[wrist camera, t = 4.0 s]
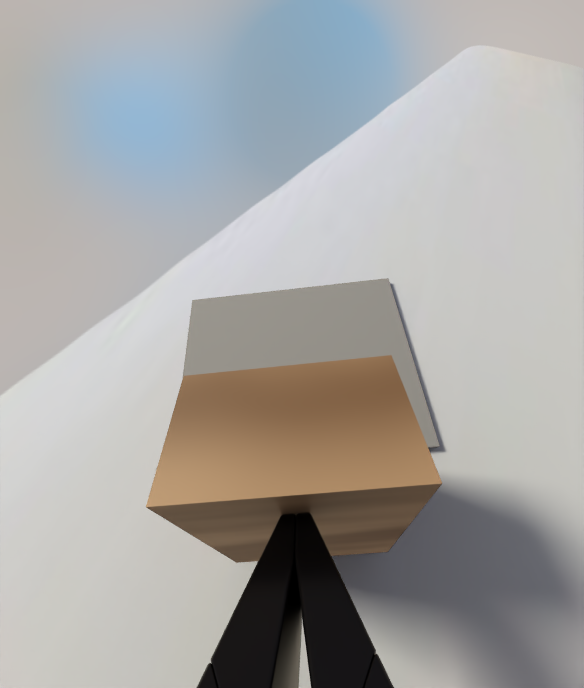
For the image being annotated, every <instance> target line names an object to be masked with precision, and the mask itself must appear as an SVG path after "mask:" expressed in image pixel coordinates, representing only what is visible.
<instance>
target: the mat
mask: <svg viewBox="0 0 584 688" xmlns="http://www.w3.org/2000/svg"><path fill="white" fill-rule="evenodd" d="M387 355H392V358H393V360H394V363H395V365H396V368H397V370H398V373H399V375H400V378H401V380H402V383H403V386H404V388H405V391H406V393H407V396H408V398H409V401H410V403H411V406H412V408H413V411H414V413H415V416H416V418H417V421H418V424H419V426H420V429H421V431H422V434H423V436H424V439H425V441H426V444H427V446H428V448H435V447H439V446H440V445H439V442H438V439H437V436H436V432H435V429H434V426H433V423H432V419H431V416H430V413H429V410H428V406H427V403H426V400H425V396H424V393H423V390H422V387H421V383H420V380H419V377H418V374H417V370H416V367H415V364H414V361H413V357H412V354H411V351H410V348H409V344H408V341H407V338H406V335H405V331H404V328H403V325H402V321H401V318H400V315H399V312H398V308H397V305H396V302H395V299H394V295H393V292H392V289H391V286H390V282H389V279H388V278H387V279H378V280H369V281H360V282H351V283H342V284H333V285H324V286H315V287H307V288H298V289H289V290H280V291H271V292H262V293H253V294H244V295H235V296H226V297H217V298H208V299H199V300H192V308H191V316H190V324H189V332H188V340H187V348H186V356H185V364H184V372H183V377H184V376H187V375H197V374H207V373H217V372H227V371H237V370H247V369H257V368H267V367H277V366H287V365H297V364H307V363H317V362H327V361H337V360H347V359H357V358H367V357H377V356H387Z"/></svg>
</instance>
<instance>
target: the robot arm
mask: <svg viewBox="0 0 584 688" xmlns="http://www.w3.org/2000/svg"><path fill="white" fill-rule="evenodd" d="M302 619H303V627H304V635H305V642H306V650H307V658H308V666H309V673H310V681H311V688H394V687H393V685H392V683H391V681H390V679H389V677H388V675H387V673H386V671H385V668H384V666H383V664H382V662H381V660H380V658H379V656H378V655H377V654H376V650H375V648H374V646H373V644H372V641H371V639H370V637H369V635H368V633H367V631H366V629H365V627H364V625H363V622H362V620H361V618H360V616H359V614H358V612H357V610H356V608H355V606H354V603H353V601H352V599H351V597H350V595H349V593H348V591H347V589H346V587H345V584H344V582H343V580H342V578H341V576H340V574H339V572H338V570H337V567H336V565H335V563H334V561H333V559H332V557H331V555H330V553H329V551H328V548H327V546H326V544H325V542H324V540H323V538H322V536H321V534H320V532H319V529H318V527H317V525H316V523H315V521H314V519H313V517H312V515H311V514H310V513H298V514H297V515H295V514H283V515H281V516H280V518H279V520H278V522H277V524H276V526H275V528H274V530H273V532H272V534H271V536H270V539H269V541H268V543H267V545H266V547H265V549H264V551H263V553H262V555H261V557H260V559H259V561H258V563H257V565H256V567H255V569H254V571H253V573H252V576H251V578H250V580H249V582H248V584H247V586H246V588H245V590H244V592H243V594H242V596H241V598H240V600H239V602H238V604H237V606H236V608H235V610H234V612H233V615H232V617H231V619H230V621H229V623H228V625H227V627H226V629H225V631H224V633H223V635H222V637H221V639H220V641H219V643H218V645H217V647H216V649H215V652H214V654H213V656H212V658H211V663H212V664H211V663H209V664H208V666H207V668H206V670H205V672H204V674H203V676H202V678H201V680H200V682H199V684H198V686H197V688H298V687H299V668H300V648H301V629H302Z"/></svg>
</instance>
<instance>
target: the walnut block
mask: <svg viewBox="0 0 584 688" xmlns="http://www.w3.org/2000/svg"><path fill="white" fill-rule="evenodd" d="M441 484H442V482H441V479H440V477H439V474H438V472H437V469H436V467H435V464H434V462H433V459H432V456H431V454H430V451H429V449H428V446H427V444H426V441H425V439H424V436H423V434H422V431H421V429H420V426H419V424H418V421H417V418H416V416H415V413H414V411H413V408H412V406H411V403H410V401H409V398H408V396H407V393H406V391H405V388H404V386H403V383H402V380H401V378H400V375H399V373H398V370H397V368H396V365H395V363H394V360H393V358H392V355H387V356H377V357H367V358H357V359H347V360H337V361H327V362H317V363H307V364H297V365H287V366H277V367H267V368H257V369H247V370H237V371H227V372H217V373H207V374H197V375H187V376H184V377H183V380H182V384H181V387H180V391H179V394H178V398H177V401H176V405H175V408H174V411H173V415H172V418H171V422H170V425H169V429H168V432H167V436H166V439H165V443H164V446H163V450H162V453H161V457H160V460H159V463H158V467H157V470H156V474H155V477H154V481H153V484H152V488H151V491H150V495H149V498H148V502H147V505H146V507H147V508H148V509H150V510H151V511H153V512H155V513H156V514H158V515H160V516H161V517H163V518H165V519H166V520H168V521H169V522H171V523H173V524H174V525H176V526H178V527H179V528H181V529H183V530H184V531H186V532H187V533H189V534H191V535H192V536H194V537H196V538H197V539H199V540H201V541H202V542H204V543H205V544H207V545H209V546H210V547H212V548H214V549H215V550H217V551H219V552H220V553H222V554H223V555H225V556H227V557H228V558H230V559H232V560H233V561H235V562H236V563H237V562H251V561H259V559H260V557H261V555H262V553H263V551H264V549H265V547H266V545H267V543H268V541H269V539H270V536H271V534H272V532H273V530H274V528H275V526H276V524H277V522H278V520H279V518H280V516H281V515H283V514H295V515H297V514H298V513H310V514H311V515H312V517H313V519H314V521H315V523H316V525H317V527H318V529H319V532H320V534H321V536H322V538H323V540H324V542H325V544H326V546H327V548H328V551H329V553H330V555H331V556H336V555H351V554H365V553H379V552H388V551H389V550H390V548H391V547H392V546H393V545H394V543H395V542H396V541H397V540H398V538H399V537H400V536H401V535H402V533H403V532H404V531H405V530H406V528H407V527H408V526H409V525H410V523H411V522H412V521H413V520H414V518H415V517H416V516H417V515H418V513H419V512H420V511H421V509H422V508H423V507H424V506H425V504H426V503H427V502H428V501H429V499H430V498H431V497H432V496H433V494H434V493H435V492H436V491H437V489H438V488H439V487H440V486H441Z"/></svg>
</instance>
